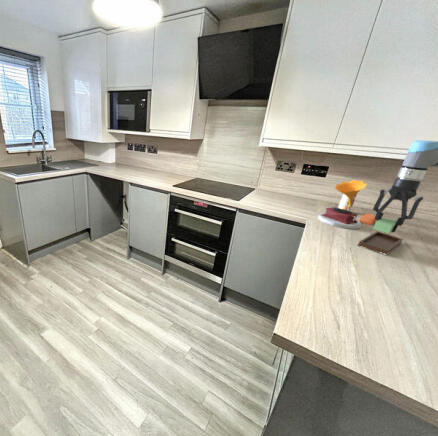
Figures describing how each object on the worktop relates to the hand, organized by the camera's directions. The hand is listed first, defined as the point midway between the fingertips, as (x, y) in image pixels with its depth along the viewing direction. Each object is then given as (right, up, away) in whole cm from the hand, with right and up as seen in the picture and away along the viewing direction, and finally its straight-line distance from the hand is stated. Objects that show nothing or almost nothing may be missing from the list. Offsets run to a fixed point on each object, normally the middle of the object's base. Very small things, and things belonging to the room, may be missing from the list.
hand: (384, 228), depth 108 cm
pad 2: (0, 0, 0) cm, 0 cm away
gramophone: (+5, +2, +33) cm, 33 cm away
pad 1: (+25, +2, +35) cm, 43 cm away
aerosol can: (+25, +9, +53) cm, 59 cm away
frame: (+4, -8, +7) cm, 11 cm away
